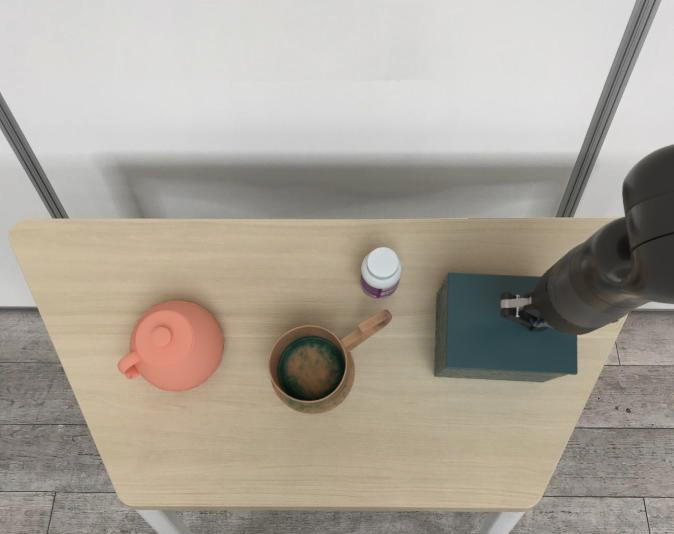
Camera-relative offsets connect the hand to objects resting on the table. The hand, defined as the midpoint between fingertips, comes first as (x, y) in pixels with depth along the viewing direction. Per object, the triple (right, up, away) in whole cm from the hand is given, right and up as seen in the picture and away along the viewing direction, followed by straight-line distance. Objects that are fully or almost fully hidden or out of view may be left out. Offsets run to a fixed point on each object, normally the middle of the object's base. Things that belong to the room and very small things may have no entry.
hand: (534, 323), depth 74 cm
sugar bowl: (-46, -4, +12) cm, 48 cm away
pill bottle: (-18, +6, +13) cm, 23 cm away
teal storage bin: (-3, -2, +11) cm, 11 cm away
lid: (-3, 0, +1) cm, 3 cm away
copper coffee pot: (-25, -5, +11) cm, 27 cm away
